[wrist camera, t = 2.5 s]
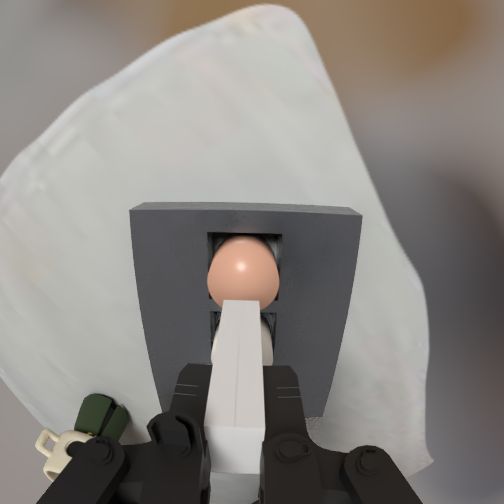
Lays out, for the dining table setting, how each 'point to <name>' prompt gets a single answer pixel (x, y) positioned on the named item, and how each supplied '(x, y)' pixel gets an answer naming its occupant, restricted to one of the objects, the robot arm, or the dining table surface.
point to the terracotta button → (243, 271)
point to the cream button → (265, 342)
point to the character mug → (82, 432)
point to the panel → (283, 308)
